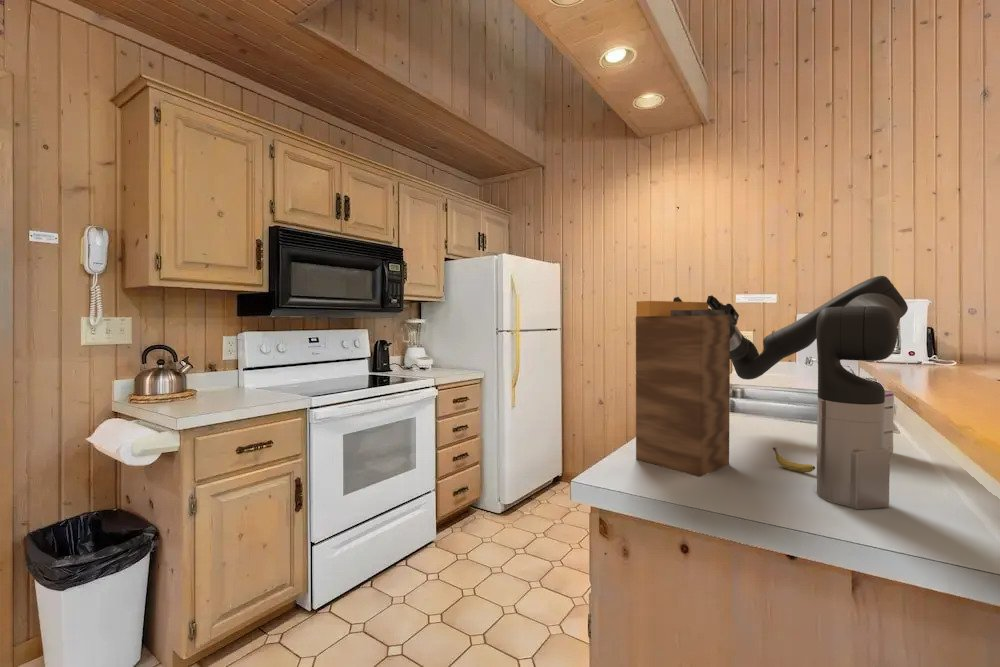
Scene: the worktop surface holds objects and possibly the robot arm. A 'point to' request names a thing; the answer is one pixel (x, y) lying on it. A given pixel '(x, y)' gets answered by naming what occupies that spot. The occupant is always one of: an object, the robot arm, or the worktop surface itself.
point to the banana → (793, 464)
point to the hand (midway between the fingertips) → (691, 299)
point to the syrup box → (888, 420)
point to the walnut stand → (683, 390)
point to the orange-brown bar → (666, 307)
